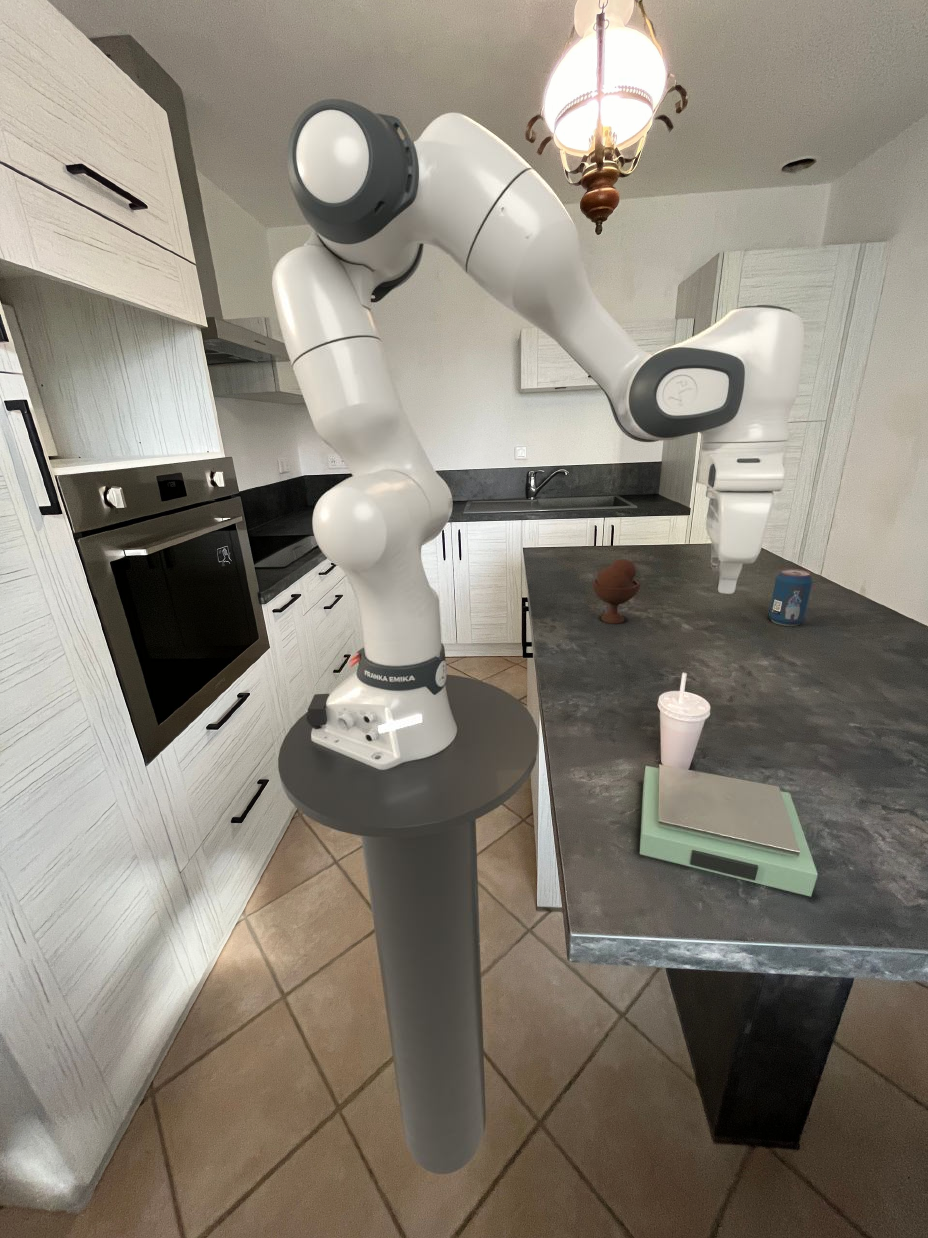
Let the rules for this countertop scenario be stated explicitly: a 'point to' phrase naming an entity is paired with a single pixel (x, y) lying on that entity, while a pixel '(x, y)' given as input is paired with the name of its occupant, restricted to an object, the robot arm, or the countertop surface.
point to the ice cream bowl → (616, 587)
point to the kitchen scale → (726, 849)
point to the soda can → (790, 597)
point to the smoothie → (681, 725)
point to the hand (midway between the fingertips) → (720, 580)
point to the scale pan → (725, 810)
